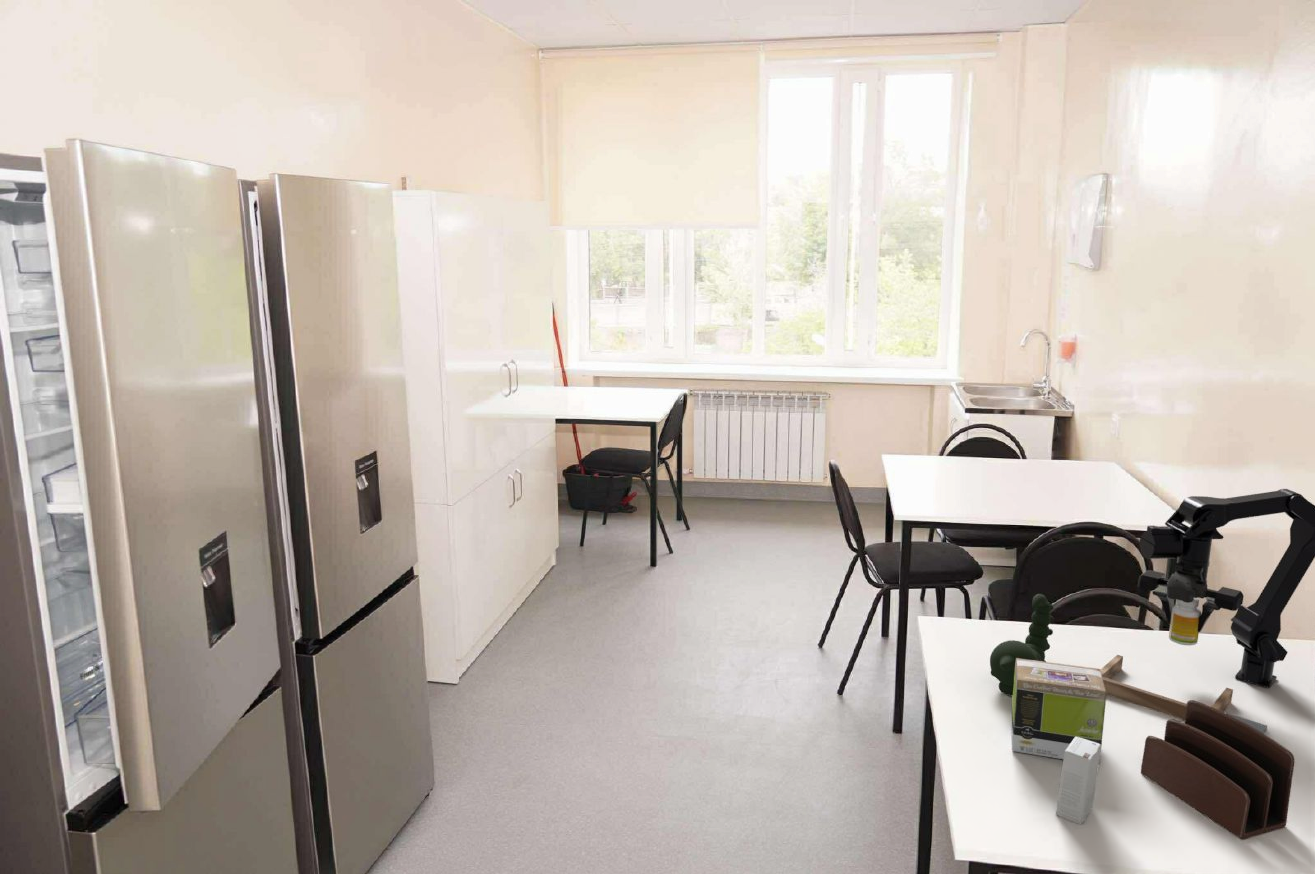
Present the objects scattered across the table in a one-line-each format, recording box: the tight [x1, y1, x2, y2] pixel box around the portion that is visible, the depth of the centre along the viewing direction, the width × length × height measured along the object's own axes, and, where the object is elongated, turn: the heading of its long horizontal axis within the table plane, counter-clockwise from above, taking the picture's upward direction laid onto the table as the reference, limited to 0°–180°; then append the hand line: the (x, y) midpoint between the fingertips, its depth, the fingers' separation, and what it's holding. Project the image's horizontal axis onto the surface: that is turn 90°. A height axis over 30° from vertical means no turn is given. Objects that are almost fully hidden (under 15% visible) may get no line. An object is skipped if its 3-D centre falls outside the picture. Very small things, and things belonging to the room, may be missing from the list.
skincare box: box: [1055, 737, 1102, 825], centre depth 152 cm, size 6×4×12 cm
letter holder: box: [1140, 699, 1296, 841], centre depth 155 cm, size 10×20×14 cm, turn 20°
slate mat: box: [1225, 712, 1268, 735], centre depth 178 cm, size 10×7×1 cm
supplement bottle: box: [1168, 598, 1202, 646], centre depth 196 cm, size 5×5×10 cm
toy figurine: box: [989, 593, 1055, 697], centre depth 195 cm, size 9×19×25 cm
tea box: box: [1010, 658, 1107, 765], centre depth 171 cm, size 15×10×15 cm, turn 71°
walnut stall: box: [1099, 654, 1234, 721], centre depth 192 cm, size 14×22×3 cm, turn 45°
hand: (1184, 627), depth 197 cm, fingers closed on supplement bottle, 5 cm apart
